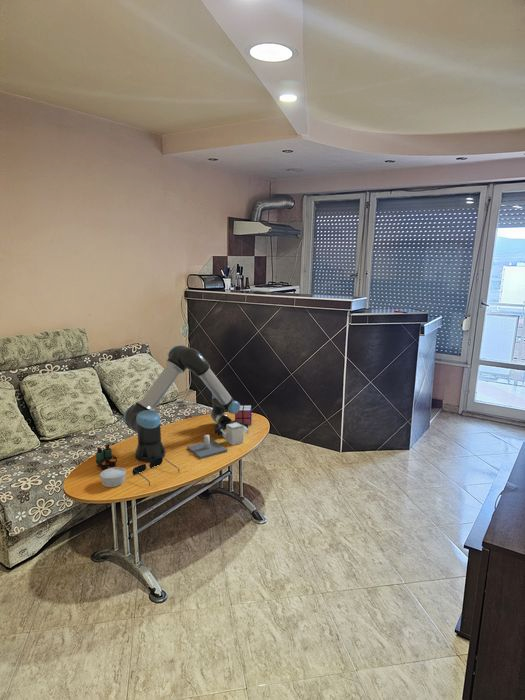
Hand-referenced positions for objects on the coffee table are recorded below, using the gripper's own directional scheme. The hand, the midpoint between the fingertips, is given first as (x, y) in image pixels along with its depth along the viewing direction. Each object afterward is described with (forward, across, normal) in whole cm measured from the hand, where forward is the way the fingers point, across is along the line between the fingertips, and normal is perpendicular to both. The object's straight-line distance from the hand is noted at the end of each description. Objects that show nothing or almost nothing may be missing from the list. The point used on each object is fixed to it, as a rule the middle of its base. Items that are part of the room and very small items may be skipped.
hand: (236, 433), depth 243 cm
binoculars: (0, +69, -6) cm, 69 cm away
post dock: (+1, +18, -6) cm, 19 cm away
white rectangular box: (-3, 0, -6) cm, 7 cm away
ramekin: (+18, +68, -6) cm, 70 cm away
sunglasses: (+18, +48, -7) cm, 52 cm away
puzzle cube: (-29, -16, -6) cm, 33 cm away
